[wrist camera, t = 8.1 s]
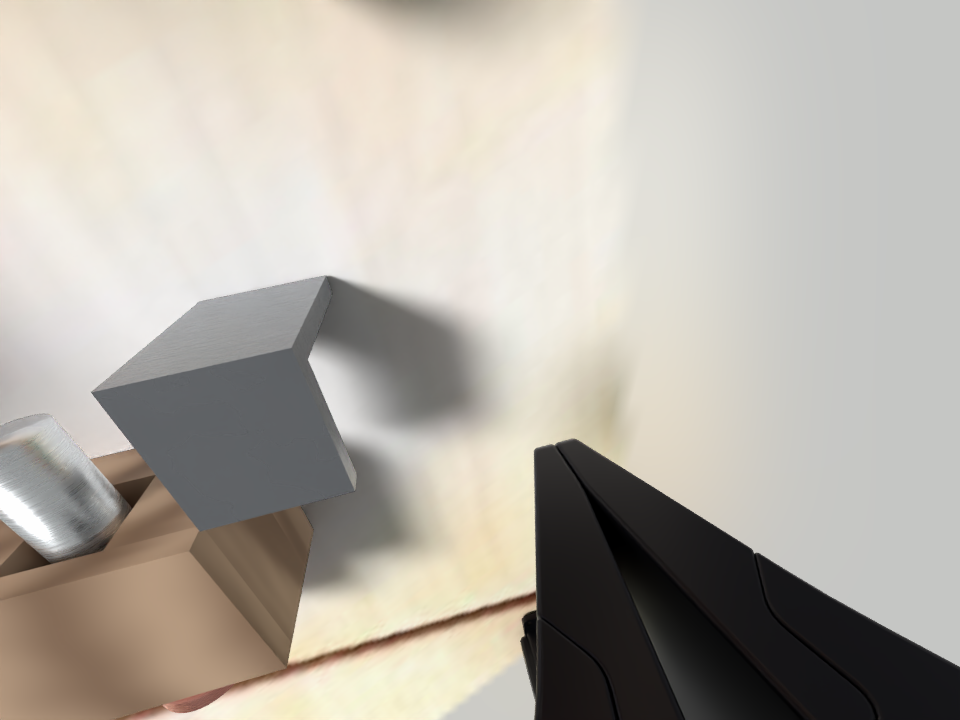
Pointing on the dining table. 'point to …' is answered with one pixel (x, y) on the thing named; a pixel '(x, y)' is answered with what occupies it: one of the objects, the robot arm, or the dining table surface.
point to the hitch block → (147, 607)
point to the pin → (63, 502)
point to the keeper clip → (235, 407)
